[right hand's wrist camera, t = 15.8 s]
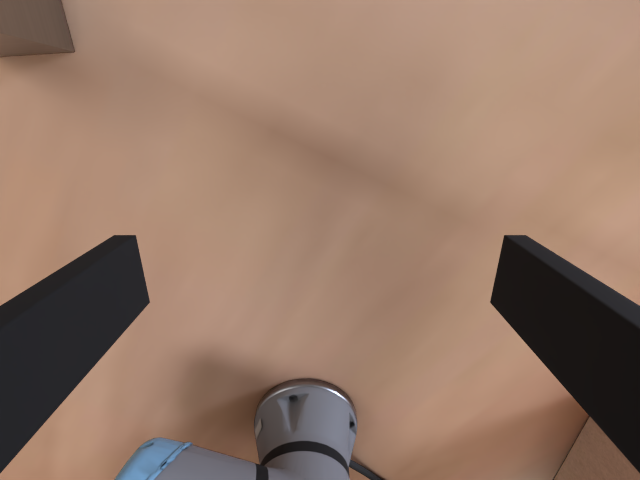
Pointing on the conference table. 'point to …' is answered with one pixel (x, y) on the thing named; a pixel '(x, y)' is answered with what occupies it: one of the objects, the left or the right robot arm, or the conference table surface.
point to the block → (33, 28)
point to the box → (596, 458)
